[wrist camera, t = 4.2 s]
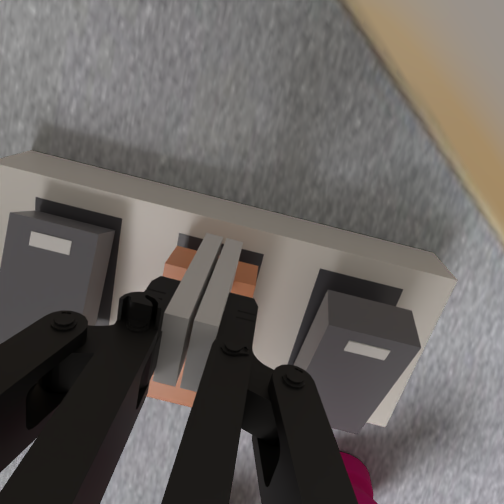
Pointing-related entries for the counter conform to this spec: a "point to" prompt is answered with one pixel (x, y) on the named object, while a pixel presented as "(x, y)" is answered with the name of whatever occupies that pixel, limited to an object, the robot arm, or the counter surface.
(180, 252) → the rocker middle
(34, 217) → the rocker end
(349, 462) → the pepper mill
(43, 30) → the counter surface
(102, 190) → the rocker switch panel
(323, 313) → the block
